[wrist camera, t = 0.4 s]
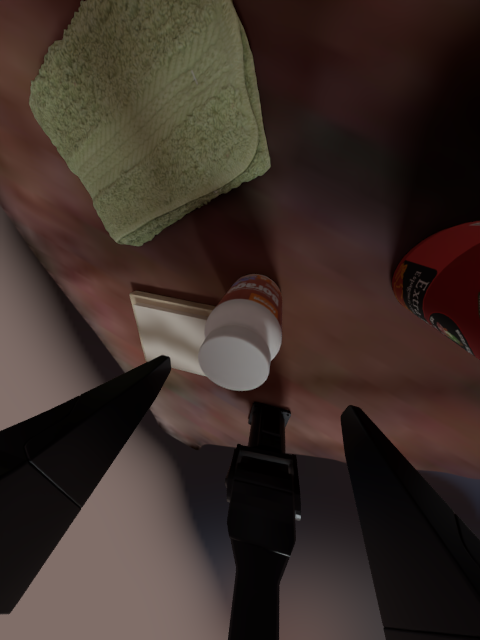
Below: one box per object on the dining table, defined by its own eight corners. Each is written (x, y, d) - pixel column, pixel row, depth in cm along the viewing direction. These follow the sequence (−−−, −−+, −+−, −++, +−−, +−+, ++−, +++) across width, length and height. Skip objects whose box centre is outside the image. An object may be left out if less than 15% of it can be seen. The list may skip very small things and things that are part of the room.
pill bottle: (288, 277, 18) (296, 338, 9) (275, 325, 21) (271, 408, 12) (231, 268, 19) (183, 314, 9) (227, 316, 22) (188, 386, 13)
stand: (217, 372, 28) (213, 382, 26) (150, 356, 29) (142, 364, 27) (221, 307, 22) (216, 314, 20) (136, 290, 23) (124, 296, 21)
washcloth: (279, 171, 14) (278, 160, 12) (135, 251, 21) (113, 256, 18) (210, -114, 9) (181, -254, 7) (47, 108, 15) (-4, 83, 13)
